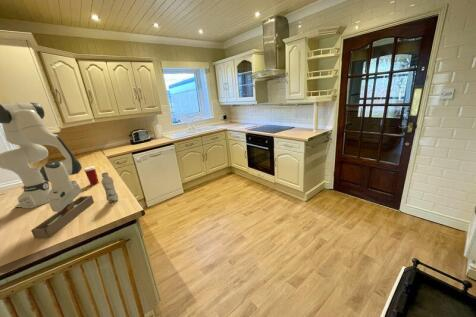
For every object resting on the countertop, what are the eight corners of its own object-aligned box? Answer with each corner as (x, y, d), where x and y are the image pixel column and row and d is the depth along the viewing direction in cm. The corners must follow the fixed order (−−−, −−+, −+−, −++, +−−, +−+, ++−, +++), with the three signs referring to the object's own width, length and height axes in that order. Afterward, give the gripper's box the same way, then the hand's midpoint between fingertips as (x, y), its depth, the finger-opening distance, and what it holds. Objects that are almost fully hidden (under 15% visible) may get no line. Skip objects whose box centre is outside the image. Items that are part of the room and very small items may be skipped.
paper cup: (102, 181, 168) (97, 166, 164) (92, 186, 162) (87, 169, 157) (96, 180, 171) (91, 165, 167) (87, 184, 165) (81, 169, 160)
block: (61, 215, 116) (58, 209, 115) (66, 211, 121) (64, 204, 119) (70, 214, 117) (67, 207, 115) (74, 210, 121) (72, 203, 120)
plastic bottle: (110, 199, 138) (102, 172, 131) (120, 197, 138) (112, 171, 131) (105, 204, 131) (96, 176, 125) (116, 202, 132) (107, 174, 125)
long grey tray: (35, 238, 103) (30, 230, 101) (82, 203, 135) (80, 196, 133) (49, 237, 103) (45, 229, 101) (94, 202, 135) (91, 195, 133)
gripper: (69, 179, 125) (76, 197, 131) (43, 199, 106) (53, 219, 112) (80, 178, 126) (87, 197, 131) (56, 198, 107) (65, 218, 113)
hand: (71, 207), depth 122 cm, fingers closed, pressing on block
